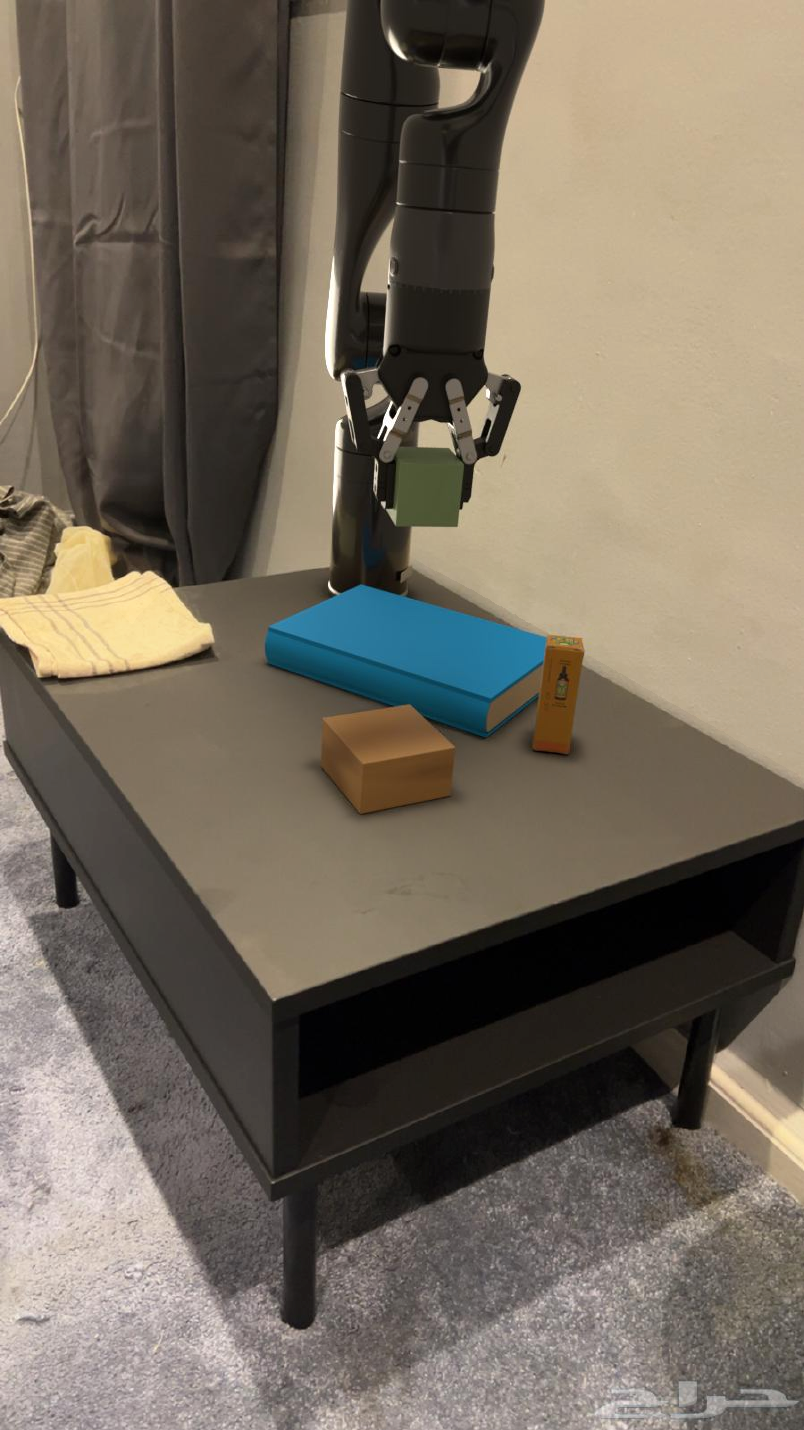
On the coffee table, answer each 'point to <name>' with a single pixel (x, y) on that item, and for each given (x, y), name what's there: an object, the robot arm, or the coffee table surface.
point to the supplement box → (558, 693)
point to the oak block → (386, 758)
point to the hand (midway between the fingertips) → (420, 505)
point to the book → (413, 657)
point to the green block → (427, 487)
